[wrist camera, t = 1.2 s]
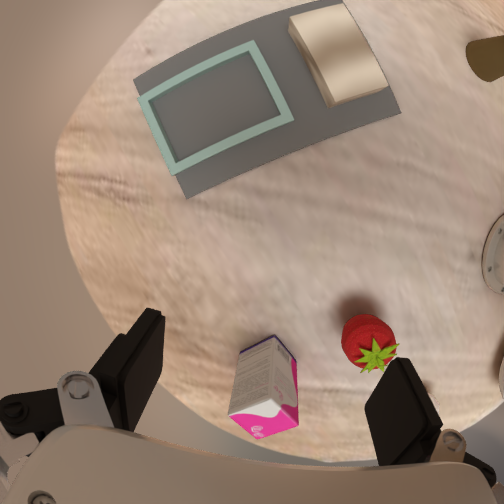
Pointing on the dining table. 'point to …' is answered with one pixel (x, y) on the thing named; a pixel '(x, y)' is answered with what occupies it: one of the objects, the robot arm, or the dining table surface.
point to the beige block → (336, 54)
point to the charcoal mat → (251, 101)
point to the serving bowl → (501, 379)
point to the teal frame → (231, 141)
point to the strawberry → (368, 342)
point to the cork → (487, 57)
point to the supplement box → (265, 389)
